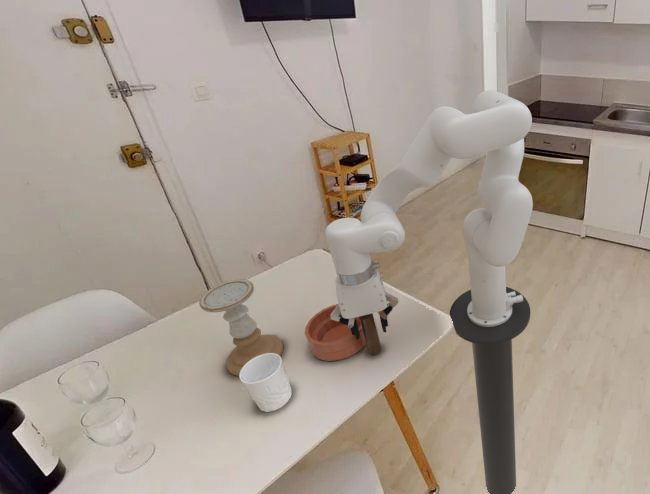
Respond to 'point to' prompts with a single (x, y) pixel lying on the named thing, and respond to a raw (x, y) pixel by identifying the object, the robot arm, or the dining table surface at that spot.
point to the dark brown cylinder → (371, 334)
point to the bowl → (332, 336)
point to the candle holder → (239, 323)
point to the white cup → (266, 381)
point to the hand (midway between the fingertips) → (371, 331)
